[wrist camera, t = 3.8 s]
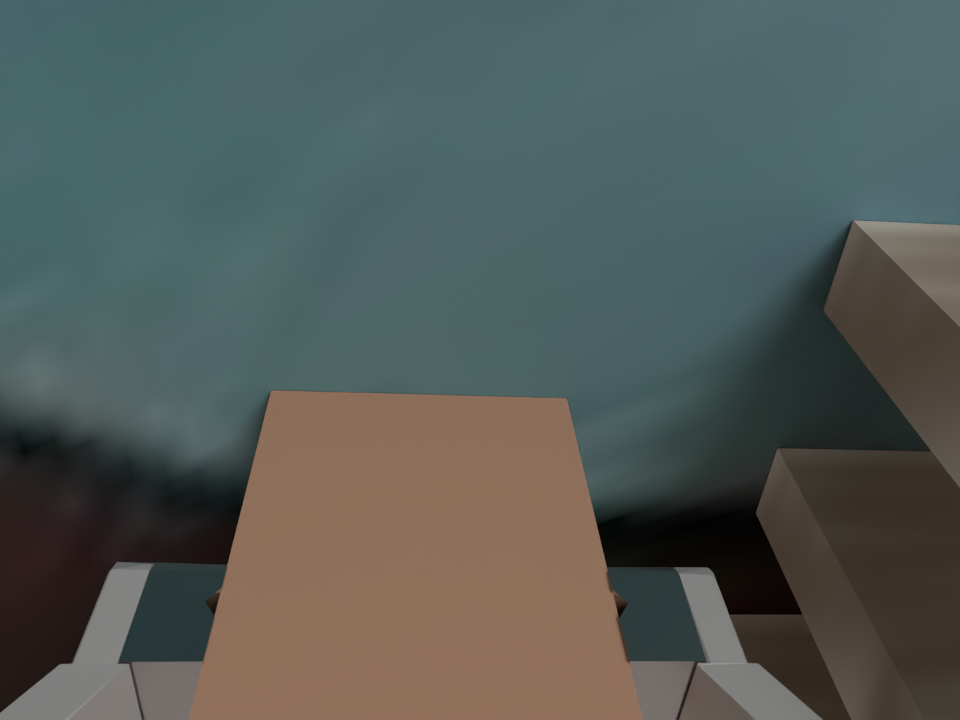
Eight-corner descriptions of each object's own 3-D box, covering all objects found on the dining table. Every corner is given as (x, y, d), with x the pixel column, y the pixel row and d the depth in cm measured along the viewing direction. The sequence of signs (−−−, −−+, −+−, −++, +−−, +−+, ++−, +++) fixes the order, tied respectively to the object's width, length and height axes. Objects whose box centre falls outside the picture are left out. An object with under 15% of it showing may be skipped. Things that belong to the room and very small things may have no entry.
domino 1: (271, 390, 14) (108, 1040, 7) (566, 398, 15) (713, 1017, 7) (276, 464, 15) (136, 1110, 8) (555, 469, 16) (676, 1087, 8)
